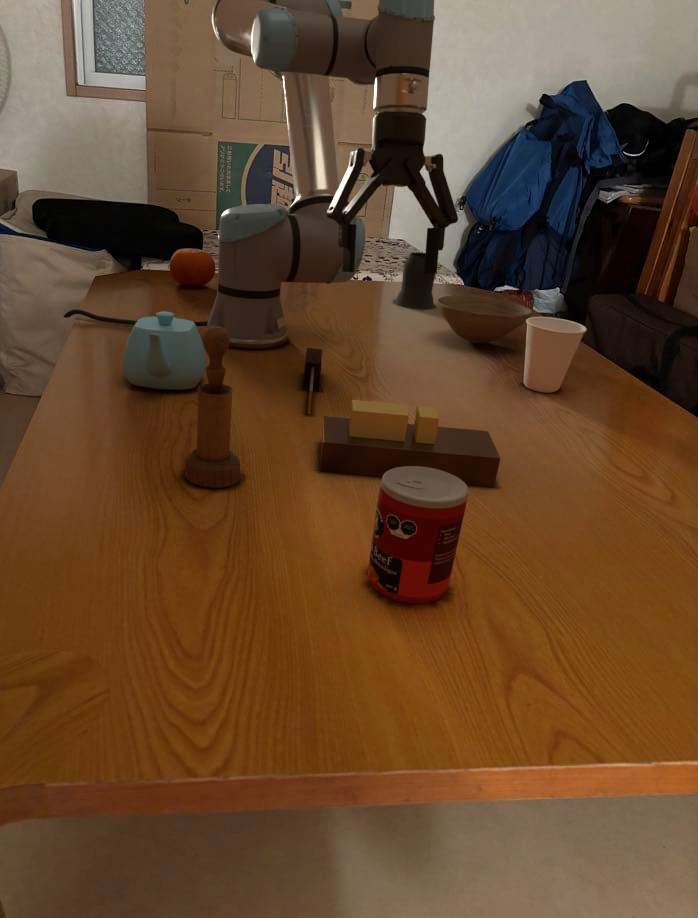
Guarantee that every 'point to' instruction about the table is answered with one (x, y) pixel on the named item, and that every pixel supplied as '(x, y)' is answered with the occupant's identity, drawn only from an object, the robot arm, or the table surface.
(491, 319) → the bowl
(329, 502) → the table surface
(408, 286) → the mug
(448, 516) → the canned food
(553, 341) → the cup
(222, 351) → the mortar and pestle
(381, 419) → the butter
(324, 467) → the board
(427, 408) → the butter slice
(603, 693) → the table surface
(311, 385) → the knife
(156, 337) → the teapot
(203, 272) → the fruit
